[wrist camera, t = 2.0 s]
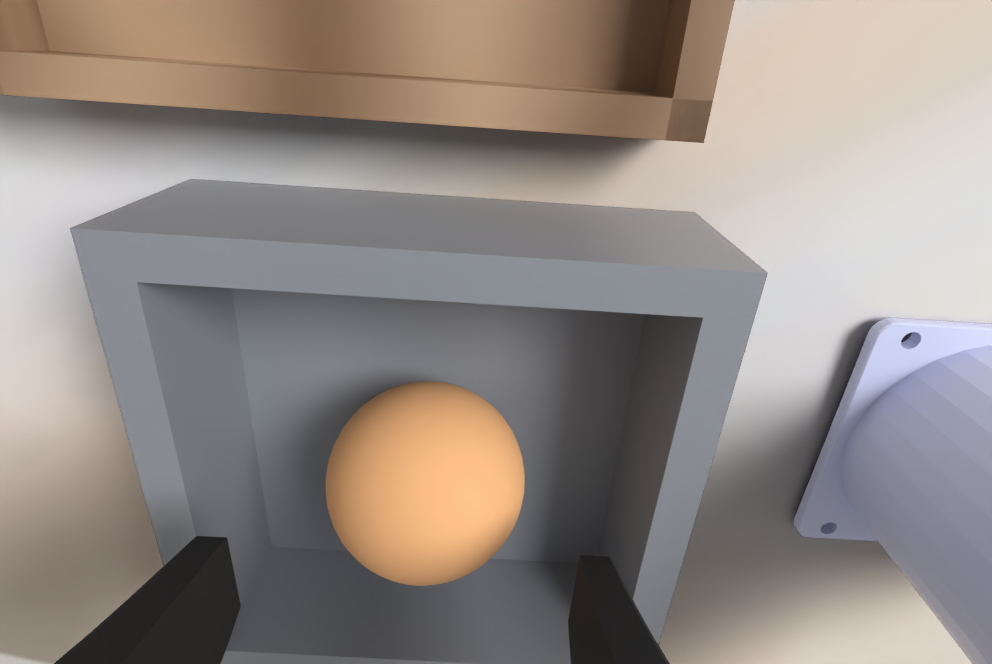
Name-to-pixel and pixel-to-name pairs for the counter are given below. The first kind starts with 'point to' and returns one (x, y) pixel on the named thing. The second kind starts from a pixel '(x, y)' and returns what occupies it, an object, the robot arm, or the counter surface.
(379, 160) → the counter surface
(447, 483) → the ball
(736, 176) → the counter surface
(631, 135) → the tray
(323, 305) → the bin
